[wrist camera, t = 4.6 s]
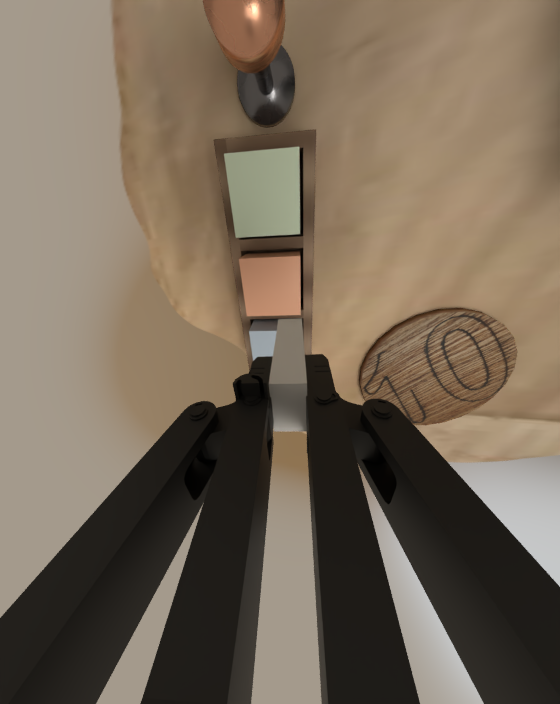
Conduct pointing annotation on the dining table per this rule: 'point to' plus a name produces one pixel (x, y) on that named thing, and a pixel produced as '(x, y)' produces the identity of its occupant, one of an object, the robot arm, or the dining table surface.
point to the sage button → (264, 191)
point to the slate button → (263, 337)
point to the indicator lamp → (256, 55)
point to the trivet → (439, 364)
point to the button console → (277, 242)
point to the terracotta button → (271, 283)
